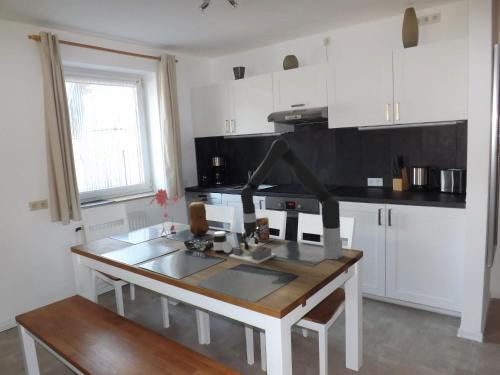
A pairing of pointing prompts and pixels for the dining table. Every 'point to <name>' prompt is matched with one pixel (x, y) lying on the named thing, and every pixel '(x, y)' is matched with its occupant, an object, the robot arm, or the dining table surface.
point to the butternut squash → (198, 219)
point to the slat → (251, 248)
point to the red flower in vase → (162, 198)
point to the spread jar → (221, 242)
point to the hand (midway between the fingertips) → (251, 247)
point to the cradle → (256, 256)
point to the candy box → (263, 228)
